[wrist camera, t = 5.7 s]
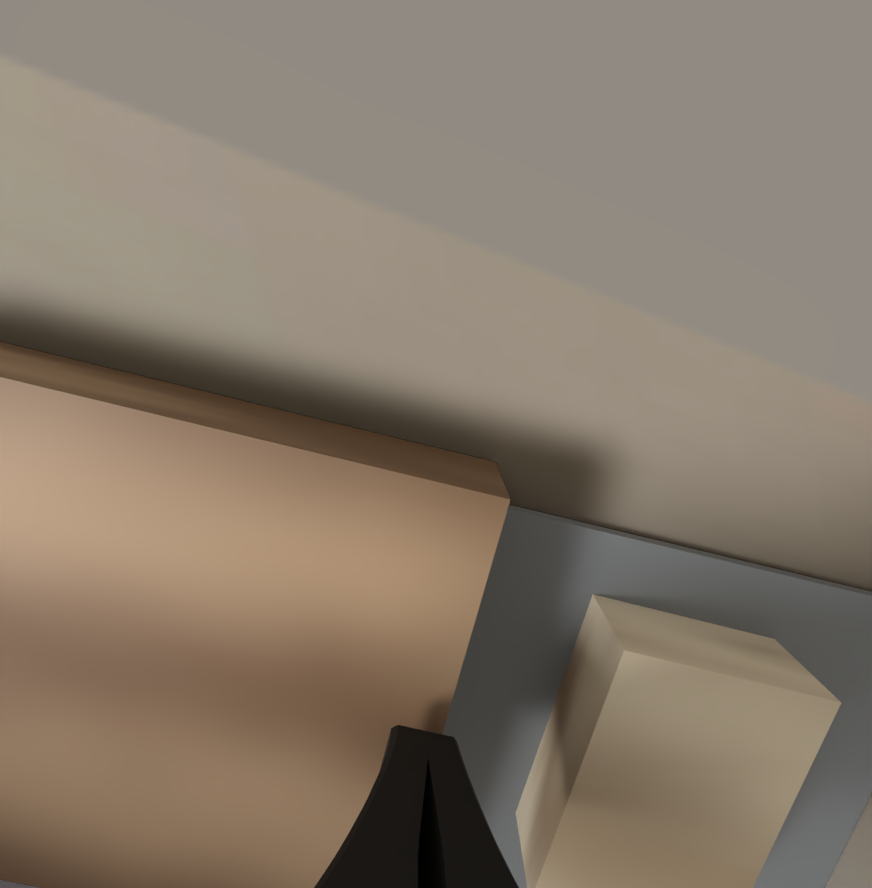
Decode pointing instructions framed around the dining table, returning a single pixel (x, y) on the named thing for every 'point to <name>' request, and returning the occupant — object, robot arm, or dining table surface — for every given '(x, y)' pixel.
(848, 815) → the rubber mat
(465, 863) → the robot arm
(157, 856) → the block
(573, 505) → the dining table surface
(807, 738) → the ash block
